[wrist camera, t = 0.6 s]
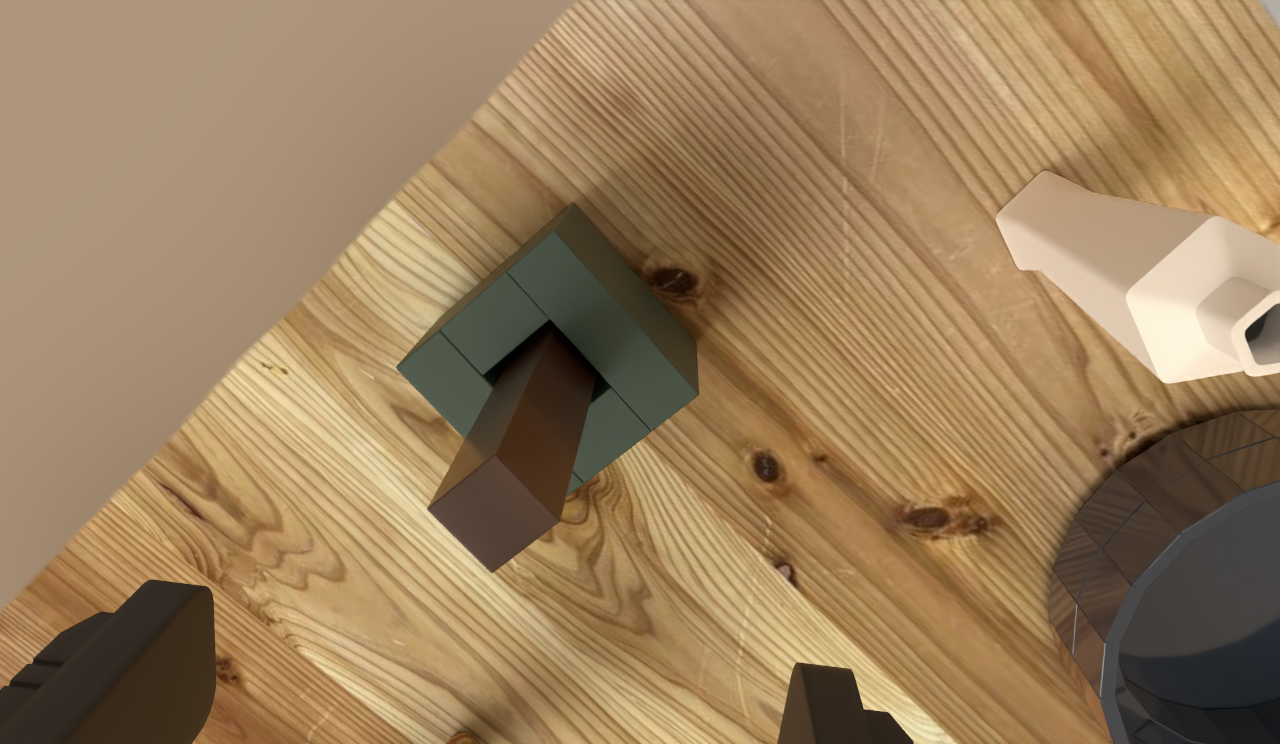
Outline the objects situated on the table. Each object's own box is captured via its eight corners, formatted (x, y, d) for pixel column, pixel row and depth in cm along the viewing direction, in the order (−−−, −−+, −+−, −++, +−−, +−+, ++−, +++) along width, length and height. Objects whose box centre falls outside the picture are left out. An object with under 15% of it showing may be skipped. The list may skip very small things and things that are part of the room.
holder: (573, 201, 37) (554, 229, 31) (697, 343, 39) (699, 394, 33) (436, 321, 39) (394, 368, 33) (559, 451, 41) (540, 518, 35)
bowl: (1317, 325, 37) (1431, 375, 32) (1501, 601, 41) (1632, 690, 35) (971, 553, 41) (1018, 634, 36) (1166, 787, 45) (1236, 894, 39)
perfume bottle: (1000, 155, 36) (1207, 228, 22) (1115, 168, 36) (1399, 249, 22) (973, 273, 37) (1150, 413, 23) (1083, 286, 37) (1330, 434, 23)
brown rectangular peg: (568, 292, 38) (495, 453, 23) (607, 335, 39) (560, 521, 24) (525, 328, 39) (425, 509, 24) (564, 371, 39) (491, 574, 24)
